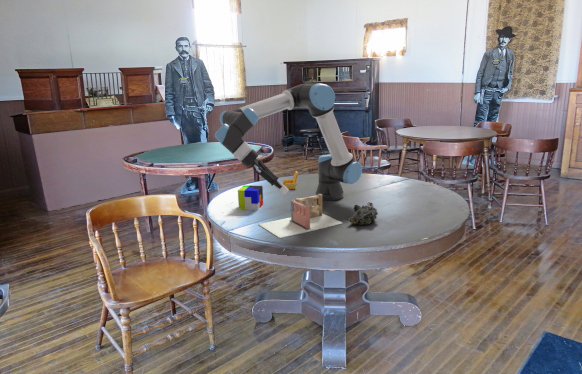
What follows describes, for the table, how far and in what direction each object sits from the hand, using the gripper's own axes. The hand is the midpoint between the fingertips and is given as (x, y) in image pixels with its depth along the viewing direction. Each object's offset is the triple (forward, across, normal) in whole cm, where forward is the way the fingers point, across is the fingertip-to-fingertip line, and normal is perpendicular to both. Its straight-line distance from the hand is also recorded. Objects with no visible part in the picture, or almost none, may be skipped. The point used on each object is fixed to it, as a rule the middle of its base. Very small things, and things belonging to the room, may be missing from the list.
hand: (286, 192), depth 190 cm
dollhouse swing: (+13, -70, -12) cm, 72 cm away
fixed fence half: (+18, -12, -4) cm, 22 cm away
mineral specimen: (+35, -6, +12) cm, 38 cm away
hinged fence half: (+15, -2, -7) cm, 17 cm away
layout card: (+16, -4, -7) cm, 18 cm away
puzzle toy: (-1, -32, -26) cm, 41 cm away
